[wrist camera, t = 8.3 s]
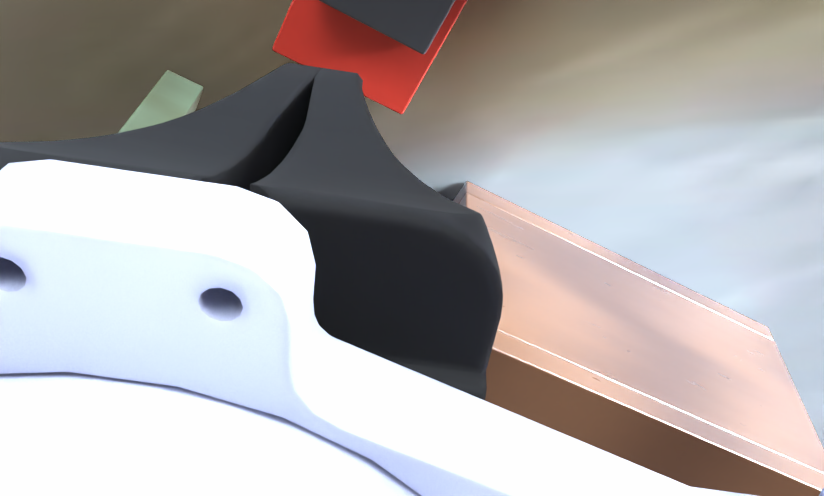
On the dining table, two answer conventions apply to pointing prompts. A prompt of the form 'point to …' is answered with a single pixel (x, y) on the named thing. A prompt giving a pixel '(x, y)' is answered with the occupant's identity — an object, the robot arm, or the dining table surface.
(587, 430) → the cabinet
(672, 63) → the dining table surface
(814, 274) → the dining table surface
